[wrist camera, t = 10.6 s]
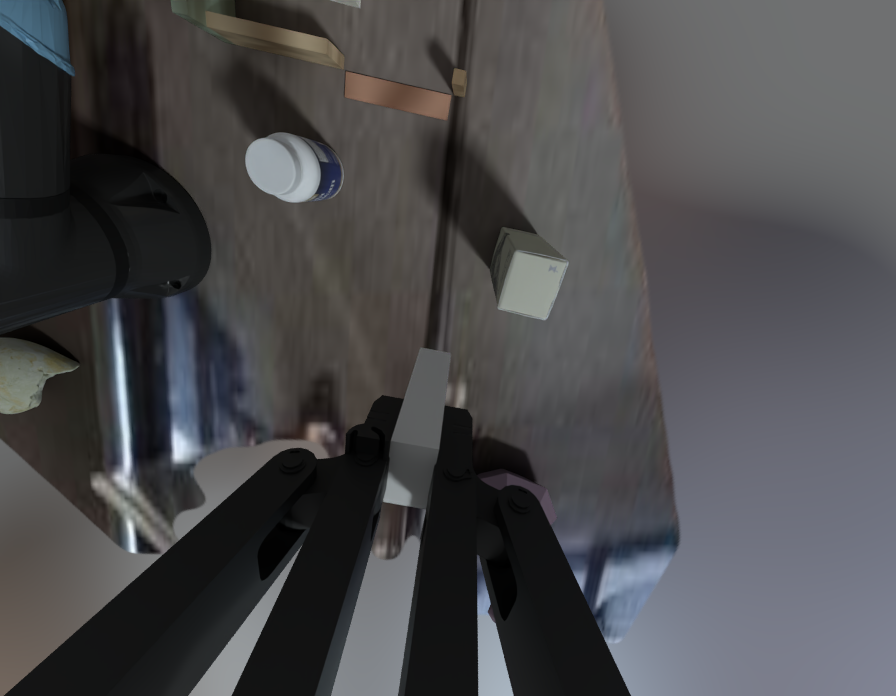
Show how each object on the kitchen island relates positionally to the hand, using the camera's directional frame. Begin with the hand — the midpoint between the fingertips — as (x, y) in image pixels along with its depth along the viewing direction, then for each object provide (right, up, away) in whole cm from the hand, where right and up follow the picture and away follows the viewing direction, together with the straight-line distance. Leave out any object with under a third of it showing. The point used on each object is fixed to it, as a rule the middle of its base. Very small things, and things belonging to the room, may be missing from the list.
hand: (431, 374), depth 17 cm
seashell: (-58, -1, +32) cm, 66 cm away
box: (+8, +12, +21) cm, 26 cm away
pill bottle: (-13, +20, +19) cm, 30 cm away
